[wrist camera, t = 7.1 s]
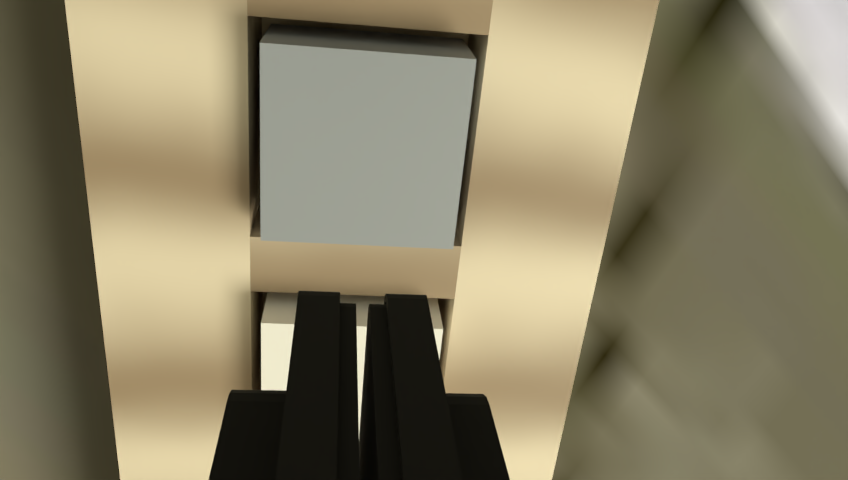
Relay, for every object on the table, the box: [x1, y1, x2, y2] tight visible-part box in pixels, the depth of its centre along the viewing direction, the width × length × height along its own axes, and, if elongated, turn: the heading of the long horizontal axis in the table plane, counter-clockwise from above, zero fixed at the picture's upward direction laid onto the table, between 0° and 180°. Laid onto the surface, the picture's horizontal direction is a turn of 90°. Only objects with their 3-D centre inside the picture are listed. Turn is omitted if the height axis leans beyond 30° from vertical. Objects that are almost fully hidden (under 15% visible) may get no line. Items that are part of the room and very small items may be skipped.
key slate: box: [260, 24, 477, 249], centre depth 19 cm, size 5×5×2 cm
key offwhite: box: [261, 292, 443, 433], centre depth 22 cm, size 5×5×2 cm
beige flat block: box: [65, 0, 659, 480], centre depth 24 cm, size 24×14×4 cm, turn 175°
